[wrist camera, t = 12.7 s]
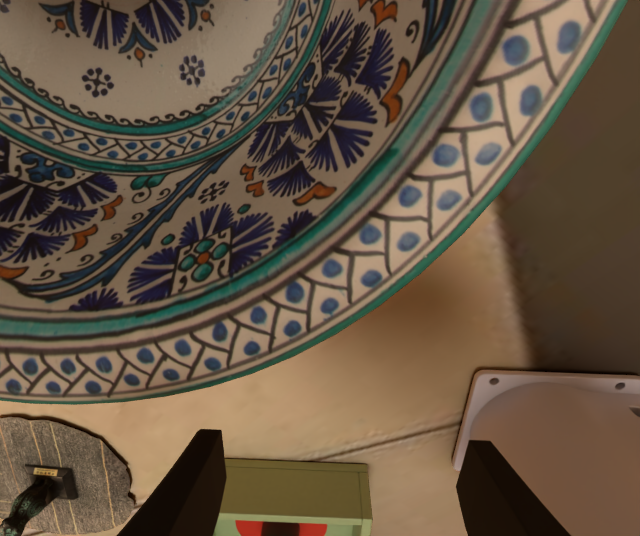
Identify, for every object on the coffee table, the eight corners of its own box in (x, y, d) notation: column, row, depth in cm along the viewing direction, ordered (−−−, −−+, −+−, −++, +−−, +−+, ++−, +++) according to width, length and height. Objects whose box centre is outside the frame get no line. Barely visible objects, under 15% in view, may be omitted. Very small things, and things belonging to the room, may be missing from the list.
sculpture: (59, 389, 23) (57, 542, 19) (160, 398, 31) (171, 506, 27) (-89, 454, 24) (-117, 606, 21) (43, 446, 32) (39, 554, 29)
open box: (367, 464, 25) (372, 520, 21) (356, 553, 29) (359, 611, 26) (199, 457, 25) (179, 511, 21) (213, 547, 29) (198, 604, 26)
